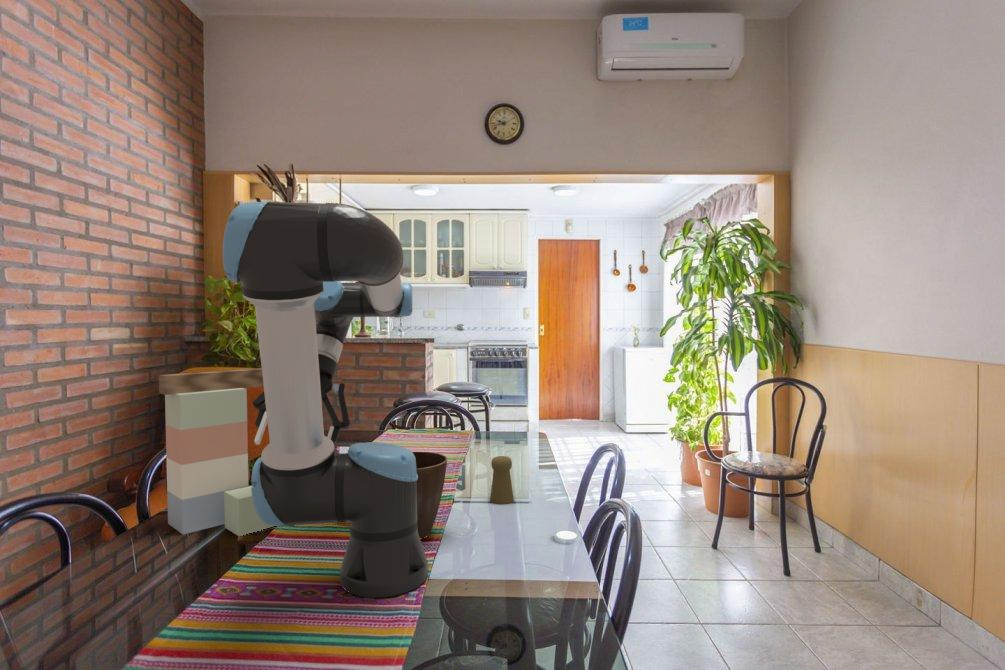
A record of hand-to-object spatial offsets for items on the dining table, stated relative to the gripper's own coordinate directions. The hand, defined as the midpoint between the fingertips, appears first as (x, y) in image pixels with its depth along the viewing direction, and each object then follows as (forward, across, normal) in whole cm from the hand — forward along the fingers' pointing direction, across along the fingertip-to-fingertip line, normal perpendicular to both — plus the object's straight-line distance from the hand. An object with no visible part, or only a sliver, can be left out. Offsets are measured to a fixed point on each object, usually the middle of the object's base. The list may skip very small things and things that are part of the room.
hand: (290, 450), depth 117 cm
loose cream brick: (+13, +4, -19) cm, 23 cm away
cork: (-3, -50, -18) cm, 54 cm away
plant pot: (+11, -29, -4) cm, 31 cm away
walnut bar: (-14, +20, -14) cm, 28 cm away
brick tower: (+14, +15, -25) cm, 32 cm away
